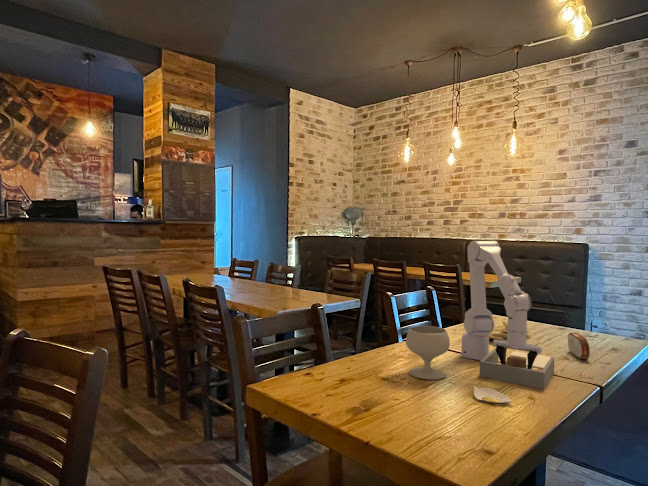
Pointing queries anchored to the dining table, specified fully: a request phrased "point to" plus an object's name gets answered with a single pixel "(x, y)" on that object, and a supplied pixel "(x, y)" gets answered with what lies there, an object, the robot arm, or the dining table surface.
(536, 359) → the mat
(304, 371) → the dining table surface
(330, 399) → the dining table surface
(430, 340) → the chalice
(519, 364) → the walnut block
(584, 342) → the tin
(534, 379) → the open box
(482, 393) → the pale veined leaf
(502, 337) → the tableware set
